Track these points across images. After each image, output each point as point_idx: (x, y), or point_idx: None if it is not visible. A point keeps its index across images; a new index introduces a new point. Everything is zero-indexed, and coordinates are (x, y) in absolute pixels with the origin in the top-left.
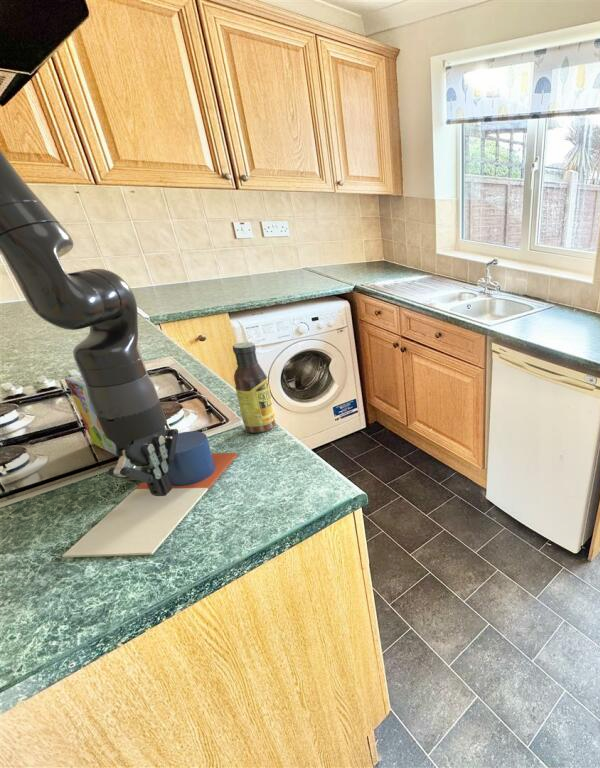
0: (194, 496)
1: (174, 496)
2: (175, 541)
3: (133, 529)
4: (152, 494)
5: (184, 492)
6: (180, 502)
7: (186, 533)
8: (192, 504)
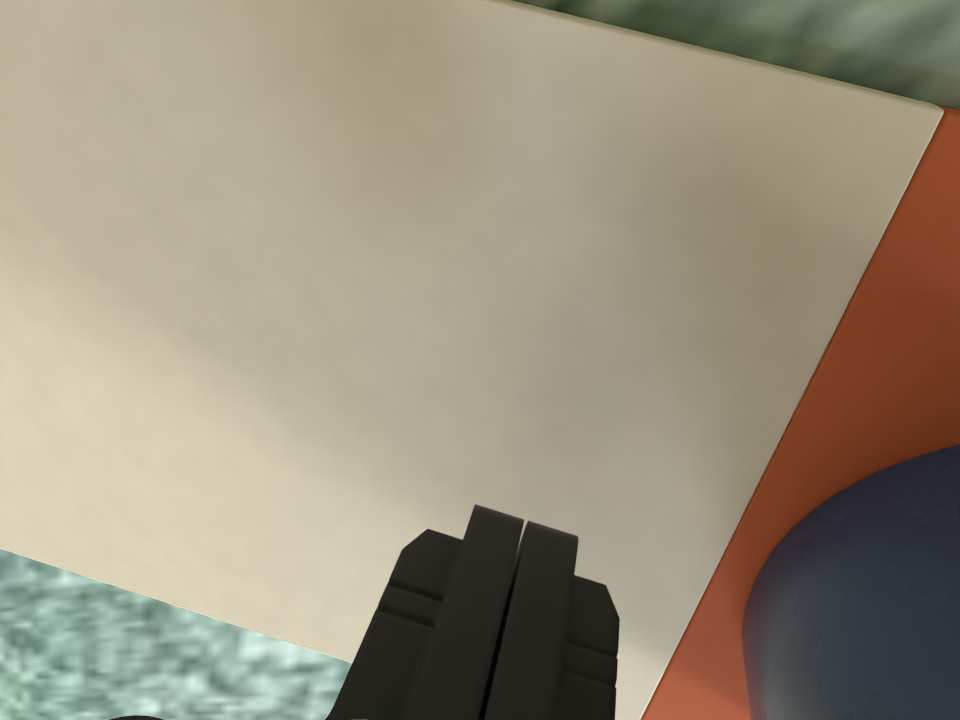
0: None
1: None
2: (47, 599)
3: (120, 351)
4: (413, 543)
5: None
6: None
7: (118, 642)
8: None
